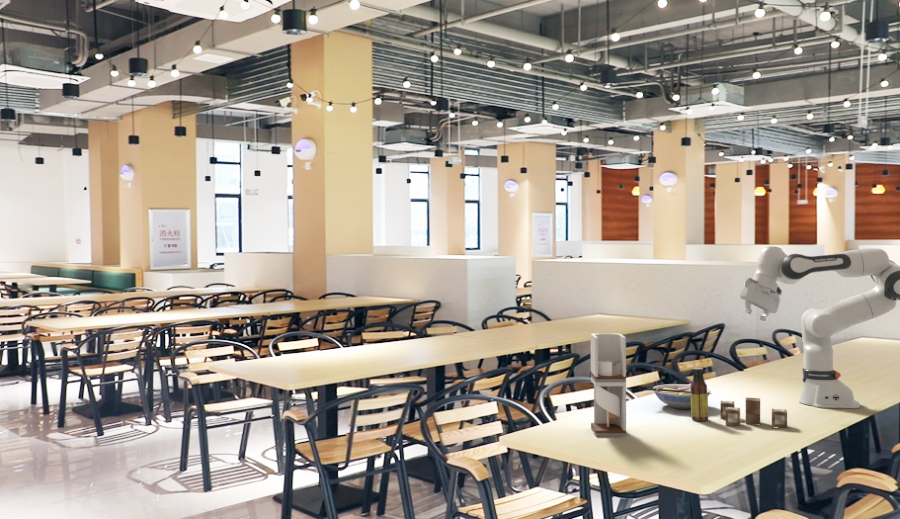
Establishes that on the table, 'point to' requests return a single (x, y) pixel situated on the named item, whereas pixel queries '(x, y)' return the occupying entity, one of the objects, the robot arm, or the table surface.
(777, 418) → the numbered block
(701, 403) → the sauce bottle
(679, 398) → the ramen bowl
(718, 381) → the table surface
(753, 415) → the plain block
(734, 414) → the white-paneled wooden block
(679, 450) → the table surface
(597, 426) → the spiral tower model
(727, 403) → the white paneled block
